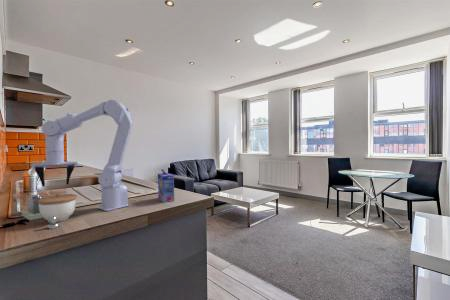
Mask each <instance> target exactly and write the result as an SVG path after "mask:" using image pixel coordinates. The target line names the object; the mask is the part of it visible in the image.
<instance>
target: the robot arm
mask: <svg viewBox="0 0 450 300" xmlns="http://www.w3.org/2000/svg"><path fill="white" fill-rule="evenodd" d="M130 114H131V113H130V109H129V108H128V107H127V105H125V104H123V103H121V102H119V101H117V100H115V99H108V100H107V101H103V102H100V103H99V104H98V105H95V106H93V107H91V108H89V109H86V110H85V111H82V112H81V113H78V114H77V113H74V112H73V113H70V112H68V113H66V115H65V116H63V117H60V118H55V120H47V121H45V122H44V123H42V125H41V132H42V133H43V134H44V135H45V162H33V163H31V164H30V167H31V169H34V171H35V172H36V174H37V176H38V178H39V179H40V183H41V187H42V188H43V187H45V186H46V183H45V168H65V167H66V180H65V181H66V185H69V183H70V178H71V175H72V173H73V171H74V169H75V167H77V166H78V161H65V151H64V150H65V148H64V145H65V144H64V139H65V135H66V134H67V132H70V131H72V130H76V129H77V128H79V127H80V128H81V127H82V125H83V124H84V122H87V121H89V120H93V119H95V118H98V117H100V116H108V117H111V118H112V119H113V121H114V122H115V123H116V124H117V129H116V133H115V137H114V139H113V143H112V146H111V151H110V153H109V158H108V160H107V163H106V164H105V166H104V167H103V170H102V172H101V173H100V174H99V176H98V180H97V182H98V183H99V185H100V189H101V190H100V191H101V192H100V193H101V196H100V197H101V205H99V206H97V207H96V208H97V209H100V210H103V211H105V212H108V211H113V210H118V209H120V208H125V207H128V206H129V203H128V202H129V201H128V198H129V197H128V196H129V195H128V192H129V191H128V188H127V186H126V185H125V184H121V181H122V179H123V166H122V164H123V161H124V157H125V153H126V150H127V148H128V147H127V146H128V143H129V140H130V136H131V132H132V128H133V121H132V117H131V115H130Z"/></svg>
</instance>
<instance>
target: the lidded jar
mask: <svg viewBox="0 0 450 300" xmlns="http://www.w3.org/2000/svg"><path fill="white" fill-rule="evenodd" d="M38 203H39V212H40V214H41V216H42V218H43V219H44V220H45V221H47V222H48V223H50V217H52V216H56V223H59V222H63V221H66V220H69V219H70V217H71V216H72V215H73V214H74V212H75V209H76V207H77V195H76V194H74V193H73V194H71V193H68V194H67V193H65V194H62V193H60V192H56V193H55V194H53V195H48V196H44V198H41V199H39V200H38Z"/></svg>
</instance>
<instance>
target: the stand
mask: <svg viewBox="0 0 450 300" xmlns="http://www.w3.org/2000/svg"><path fill="white" fill-rule="evenodd" d="M21 216H22V217H24V218H25V219H27V220H29V221H33V220H38V219H42V218H43V217H42V216H41V214H40V213H39V214H32V213H31V212H29V211H28V209H26V210H22V211H21Z"/></svg>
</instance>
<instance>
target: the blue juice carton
mask: <svg viewBox="0 0 450 300" xmlns="http://www.w3.org/2000/svg"><path fill="white" fill-rule="evenodd" d="M160 170H161V171H162V172H161V173H160V172H159V173H157V189H158V190H157V193H158V194H157V196H158V199H159V200H161V201H162V203H166V202H175V184H174V183H175V181H174V180H175V178H174V174H173V173H169V172H165V170H164V169H160Z"/></svg>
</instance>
